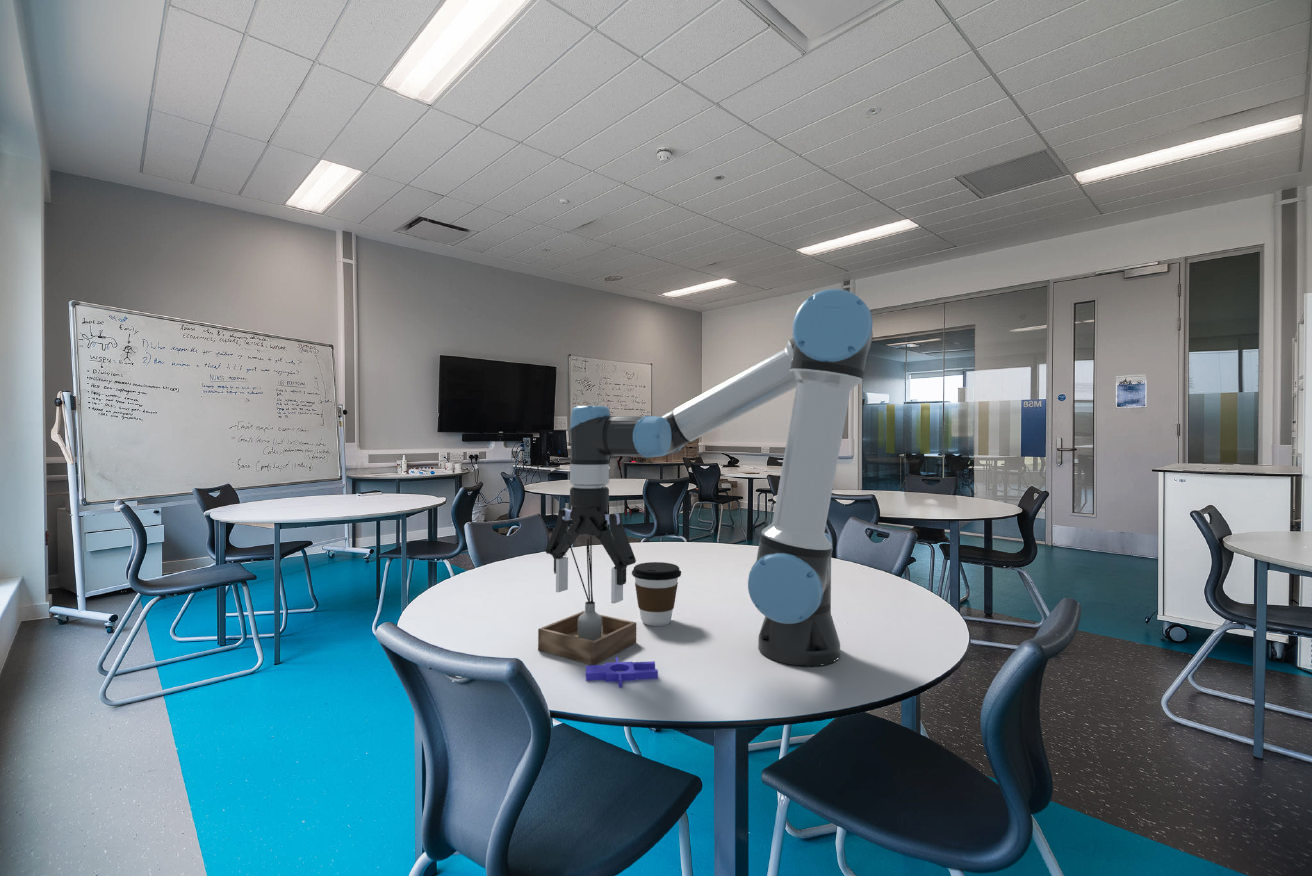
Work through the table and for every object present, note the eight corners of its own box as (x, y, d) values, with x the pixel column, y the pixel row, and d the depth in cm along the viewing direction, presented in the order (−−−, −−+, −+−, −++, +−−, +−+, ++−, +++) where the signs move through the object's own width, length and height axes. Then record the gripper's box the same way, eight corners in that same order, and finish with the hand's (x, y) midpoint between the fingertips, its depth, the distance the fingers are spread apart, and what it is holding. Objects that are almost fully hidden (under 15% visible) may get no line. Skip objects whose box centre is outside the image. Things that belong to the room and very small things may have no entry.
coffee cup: (672, 632, 119) (673, 574, 119) (623, 626, 123) (624, 570, 123) (686, 616, 130) (687, 563, 130) (641, 611, 133) (641, 560, 133)
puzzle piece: (660, 688, 94) (660, 678, 94) (586, 691, 92) (586, 681, 92) (652, 664, 103) (652, 655, 103) (585, 667, 102) (585, 658, 102)
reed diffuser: (600, 650, 106) (601, 542, 106) (563, 649, 106) (564, 541, 106) (604, 631, 116) (605, 533, 116) (570, 631, 116) (571, 532, 116)
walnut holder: (636, 642, 113) (636, 622, 113) (594, 665, 102) (594, 642, 102) (583, 630, 120) (583, 611, 120) (538, 650, 109) (538, 629, 109)
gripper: (654, 488, 107) (653, 601, 107) (554, 481, 120) (553, 582, 121) (631, 491, 101) (630, 611, 101) (528, 484, 114) (527, 590, 114)
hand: (588, 596), depth 111 cm, fingers open, 13 cm apart
